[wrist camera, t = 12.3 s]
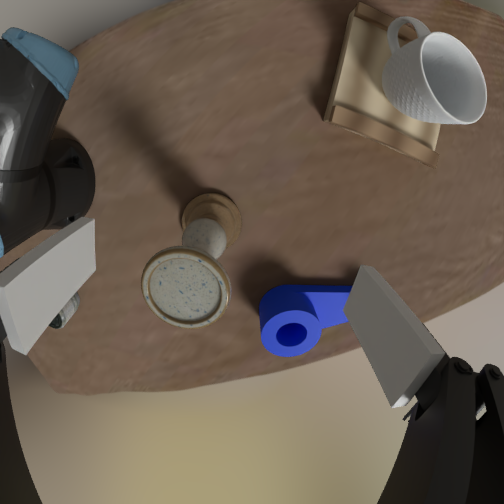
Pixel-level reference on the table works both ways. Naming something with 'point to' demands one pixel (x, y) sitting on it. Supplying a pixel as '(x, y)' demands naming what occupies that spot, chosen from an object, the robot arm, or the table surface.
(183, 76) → the table surface
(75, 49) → the table surface
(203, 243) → the candle holder
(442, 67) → the mug
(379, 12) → the wooden tray
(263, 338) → the bracket
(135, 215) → the table surface
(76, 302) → the camera lens
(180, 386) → the table surface
